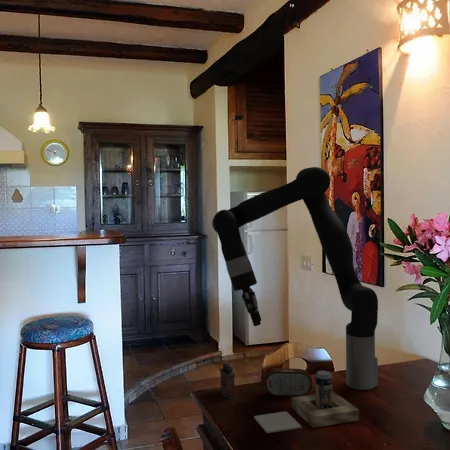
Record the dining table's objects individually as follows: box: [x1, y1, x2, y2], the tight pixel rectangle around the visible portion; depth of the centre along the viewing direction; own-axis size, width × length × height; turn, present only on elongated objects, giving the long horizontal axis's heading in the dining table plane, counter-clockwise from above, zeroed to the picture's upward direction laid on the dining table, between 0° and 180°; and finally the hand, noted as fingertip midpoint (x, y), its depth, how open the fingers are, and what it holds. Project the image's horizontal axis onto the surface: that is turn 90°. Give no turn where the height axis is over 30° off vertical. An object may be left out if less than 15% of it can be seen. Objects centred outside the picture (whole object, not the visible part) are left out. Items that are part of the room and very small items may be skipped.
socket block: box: [290, 391, 360, 429], centre depth 141 cm, size 14×14×3 cm
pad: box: [253, 410, 302, 434], centre depth 135 cm, size 10×10×1 cm
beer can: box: [314, 370, 333, 410], centre depth 140 cm, size 5×5×12 cm
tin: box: [264, 367, 313, 397], centre depth 155 cm, size 15×3×8 cm, turn 84°
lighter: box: [219, 361, 236, 400], centre depth 156 cm, size 8×3×10 cm, turn 23°
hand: (258, 323), depth 149 cm, fingers open, 8 cm apart
